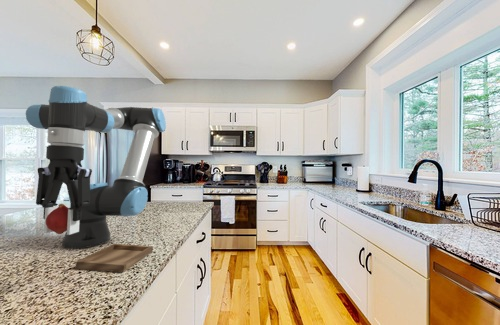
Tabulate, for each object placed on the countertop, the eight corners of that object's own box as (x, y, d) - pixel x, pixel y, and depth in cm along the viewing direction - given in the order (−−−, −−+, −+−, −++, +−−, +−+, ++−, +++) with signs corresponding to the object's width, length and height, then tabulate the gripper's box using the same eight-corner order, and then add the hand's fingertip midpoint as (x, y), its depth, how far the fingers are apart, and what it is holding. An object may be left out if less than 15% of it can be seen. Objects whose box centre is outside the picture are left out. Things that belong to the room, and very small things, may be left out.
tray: (75, 268, 61) (76, 261, 61) (113, 249, 76) (113, 243, 76) (123, 272, 60) (123, 265, 60) (152, 251, 75) (152, 246, 75)
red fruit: (57, 230, 58) (59, 201, 58) (80, 230, 58) (81, 202, 58) (38, 237, 52) (40, 205, 52) (63, 237, 52) (65, 205, 53)
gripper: (18, 143, 53) (12, 234, 52) (86, 144, 51) (81, 239, 51) (49, 146, 60) (44, 226, 60) (109, 147, 59) (105, 230, 58)
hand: (61, 232), depth 55 cm, fingers closed on red fruit, 6 cm apart
